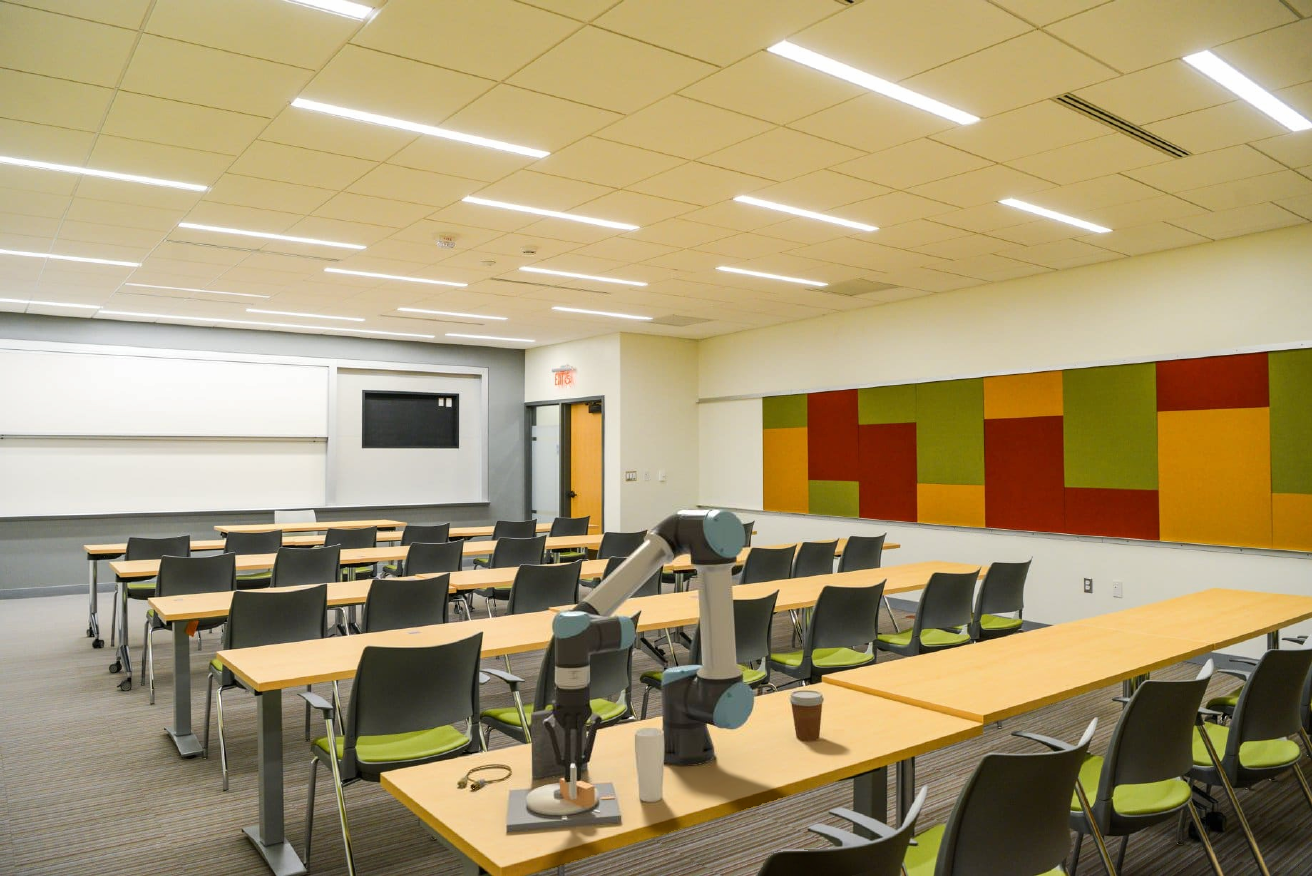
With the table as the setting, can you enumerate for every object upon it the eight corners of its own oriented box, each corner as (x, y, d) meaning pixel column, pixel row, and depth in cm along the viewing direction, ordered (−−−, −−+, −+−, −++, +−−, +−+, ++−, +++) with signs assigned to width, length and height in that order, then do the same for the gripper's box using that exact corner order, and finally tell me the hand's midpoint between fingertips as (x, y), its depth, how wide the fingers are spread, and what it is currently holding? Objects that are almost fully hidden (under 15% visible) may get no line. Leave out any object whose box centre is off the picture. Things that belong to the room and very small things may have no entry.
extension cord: (442, 782, 207) (442, 774, 207) (495, 765, 218) (495, 757, 218) (470, 794, 198) (470, 785, 198) (524, 776, 209) (524, 768, 209)
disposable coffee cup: (789, 742, 230) (787, 697, 230) (791, 731, 239) (790, 689, 240) (824, 744, 227) (823, 699, 228) (825, 733, 237) (824, 690, 237)
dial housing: (612, 788, 198) (612, 781, 198) (621, 822, 178) (621, 814, 178) (509, 796, 195) (509, 789, 195) (506, 832, 175) (506, 824, 175)
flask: (529, 776, 208) (528, 703, 209) (584, 766, 214) (582, 695, 215) (534, 781, 204) (532, 706, 205) (589, 771, 211) (587, 698, 212)
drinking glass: (629, 799, 191) (628, 732, 192) (651, 791, 196) (649, 725, 197) (650, 806, 187) (648, 738, 187) (671, 798, 191) (670, 731, 192)
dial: (512, 802, 187) (511, 778, 187) (568, 782, 198) (567, 760, 198) (561, 823, 174) (560, 798, 174) (618, 801, 185) (617, 777, 186)
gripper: (545, 691, 177) (545, 806, 175) (604, 686, 180) (605, 799, 178) (540, 683, 184) (540, 793, 182) (598, 679, 187) (598, 787, 186)
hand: (572, 796), depth 180 cm, fingers closed
